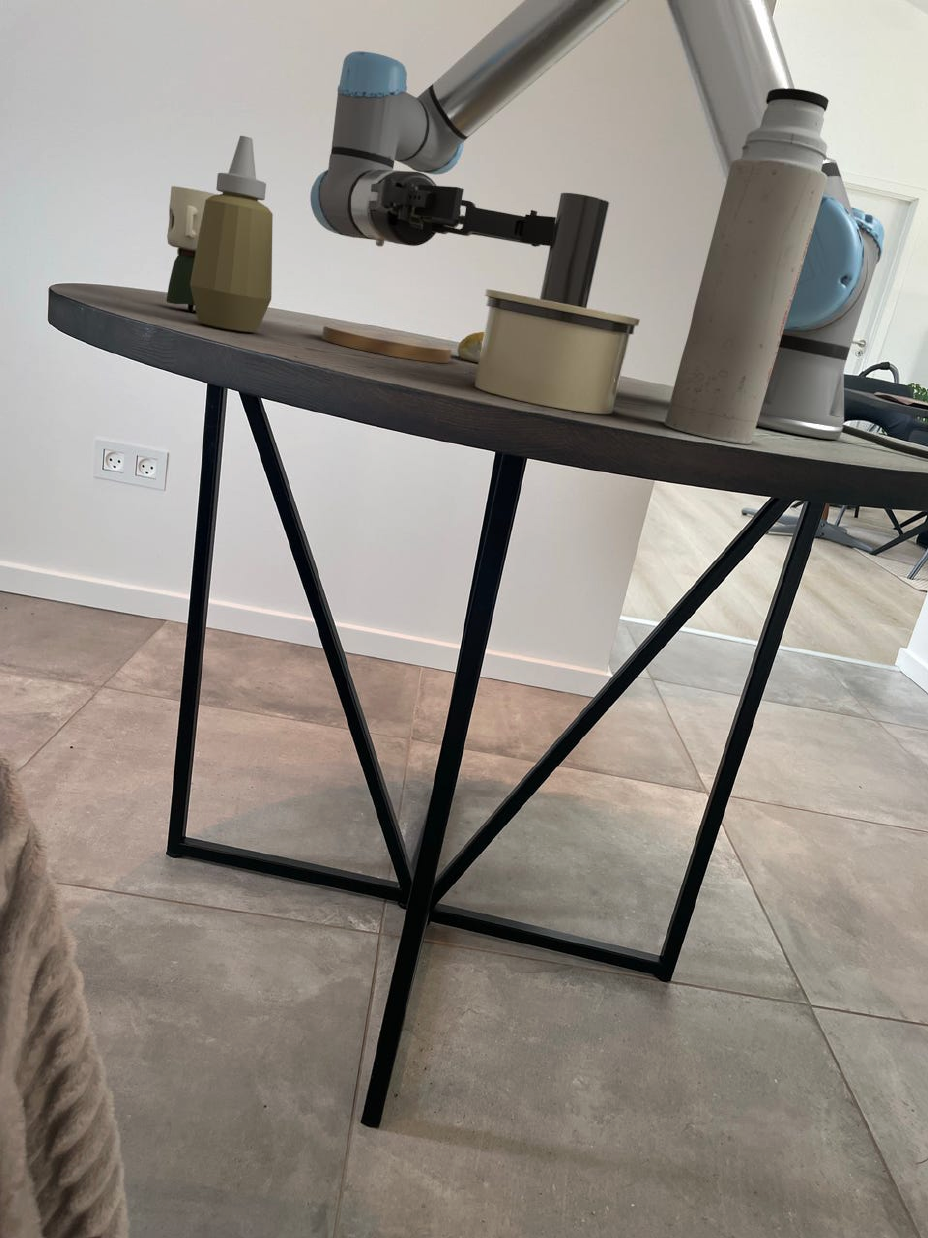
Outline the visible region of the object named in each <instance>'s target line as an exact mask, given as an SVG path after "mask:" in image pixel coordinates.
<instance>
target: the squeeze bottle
mask: <svg viewBox="0 0 928 1238" xmlns="http://www.w3.org/2000/svg"><path fill="white" fill-rule="evenodd" d="M253 141H254V140H253V138H252V137H249V136H245V135H239V138H238V141H237V144H236V148H235V150H234V154H233V158H232V160H231V164H230V167H229V169H228V172H218V173H217V175H216V176H217V177H216V188H215V189H216V191H218V192H220V193H219V194H218V195H214V196H211V197H209V198H208V199H206V200H205V206H204V211H203V217H202V222H201V227H200V233H199V238H198V244H197V249H196V255H195V260H194V265H193V271H192V276H191V282H190V286H191V291H192V295H193V300H194V304H195V306H194V310H195V309H196V310H195V313H196V317H197V321H198V322H199V323H201V324H203V325H205V326H207V327H210V328H213V329H218V330H224V331H230V332H235V333H236V332H237V333H246V334H249V333H257V332H258V330H259V328H260V325H261V323H262V321H263V318H264V316H265V314H266V312H267V310H268V308H269V305H270V304H271V302H272V289H273V287H272V285H273V279H272V278H273V274H272V273H273V219H274V218H273V214H274V213H273V212H272V211H271V210H270V208H268V206H266V205H264V204H263V203H262V202H260V201H265V199H266V190H267V183H266V182H264V181H262V180H260V179H257V173H256V172H257V171H256V163H255V154H254V153H255V152H254V142H253Z"/></svg>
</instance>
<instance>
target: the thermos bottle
mask: <svg viewBox="0 0 928 1238" xmlns="http://www.w3.org/2000/svg"><path fill="white" fill-rule="evenodd" d="M829 102H830V101H829V99H828V97H826V96H825V95H822V94H820V93H817V92H814V91H811V90H806V89H800V88H795V89H791V88H781V89H774V90H771V91H769V92H768V95H767V99H766V103H767V104H768V107H767V109H766V110H765V112H764V115H763V119H762V122H761V126H760V127H759V128H758V129H756V130H754V131H752V132H750V133H749V134H748V135H747V139H746V142H745V145H744V146H743V147H742V150H743V154H742V157H741V159H737V160H734V161H733V162H732V163H731V167H730V171H729V174H728V178H727V182H726V186H725V185H724V190H723V193H722V198H721V201H720V206H719V209H718V214H717V218H716V221H715V225H714V229H713V234H712V238H711V242H710V244H709V249H708V253H707V256H706V261H705V265H704V269H703V272H702V277H701V281H700V284H699V288H698V291H697V296H696V300H695V302H694V303H695V304H694V307H693V313H692V317H691V323H690V326H689V331H688V335H687V338H686V341H685V345H684V347H683V351H682V355H681V358H680V362H679V366H678V369H677V374H676V378H675V381H674V384H673V385H674V386H673V389H672V393H671V396H670V401H669V404H668V409H667V413H666V416H665V420H664V426H666V427H668V428H670V429H673V430H676V431H678V432H679V431H680V432H681V433H682V432H683V433H685V434H686V433H687V434H691V435H694V436H698V437H703V438H707V439H712V440H716V441H722V442H726V443H734V444H744V445H749V444H751V443H752V442H753V437H754V434H755V431H756V427H757V426H756V424H757V421H758V417H759V414H760V411H761V407H762V404H763V400H764V397H765V393H766V390H767V386H768V383H769V379H770V376H771V372H772V369H773V366H774V362H775V359H776V355H777V352H778V348H779V344H780V340H781V336H782V333H783V329H784V325H785V322H786V318H787V315H788V312H789V308H790V305H791V302H792V299H793V296H794V293H795V289H796V286H797V283H798V279H799V276H800V272H801V269H802V265H803V262H804V258H805V255H806V251H807V248H808V245H809V241H810V238H811V234H812V231H813V227H814V224H815V220H816V217H817V213H818V210H819V206H820V203H821V200H822V196H823V193H824V189H825V186H826V182H827V178H828V177H827V175H826V174H825V173H823V172H822V171H821V169H822V165H823V161H824V160H826V158H828V155H827V154H826V153H827V150H828V145H827V143H826V141H825V140H824V139H823V138H822V137H821V132H822V130H823V129H822V128H823V126H824V122H825V118H824V114H825V112H826V111H827V109H828V105H829Z"/></svg>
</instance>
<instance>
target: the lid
mask: <svg viewBox="0 0 928 1238" xmlns="http://www.w3.org/2000/svg"><path fill="white" fill-rule="evenodd" d="M609 208H610V202H609V201H608V200H605V199H603V198H599V197H596V196H590V195H587V194H581V193H574V192H561V193H560V195H559V199H558V204H557V210H556V214H555V217H556V219H555V224H554V229H553V234H552V239H551V244H550V246H549V250H548V254H547V259H546V264H545V269H544V274H543V279H542V285H541V289H540V294H539V298H536V297H532V296H527V295H521V294H515V293H511V292H505V291H500V290H495V289H490V288H489V289H488V288H486V289H485V290H484V296H485V297H493V298H498V299H503V300H508V301H513V302H518V303H523V304H529V305H534V306H539V307H544V308H549V309H554V310H559V311H564V312H569V313H574V314H579V315H584V316H589V317H594V318H599V319H604V320H609V321H615V322H620V323H625V324H630V325H635V326H636V327H639V326H640V325H641V319H640V318H636V317H631V316H626V315H623V314H616V313H612V312H607V311H602V310H597V309H592V308H588V304H589V299H590V296H591V291H592V286H593V281H594V277H595V272H596V269H597V268H596V267H597V264H598V259H599V254H600V250H601V246H602V245H601V244H602V241H603V237H604V236H603V235H604V231H605V227H606V221H607V217H608V213H609Z"/></svg>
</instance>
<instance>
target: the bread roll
mask: <svg viewBox="0 0 928 1238" xmlns="http://www.w3.org/2000/svg"><path fill="white" fill-rule="evenodd" d="M483 337H484V331H479V332H473V333H470V334H468V335H466V336H465V337H464V338H463V339H462V340H461V341H460V342H459V344H458V347H457V354H458V356H459V357H460V358H461V359H462V360H464V361H468V362H471V363H475V364H479V358H480V353H481V347H482V342H483Z"/></svg>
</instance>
